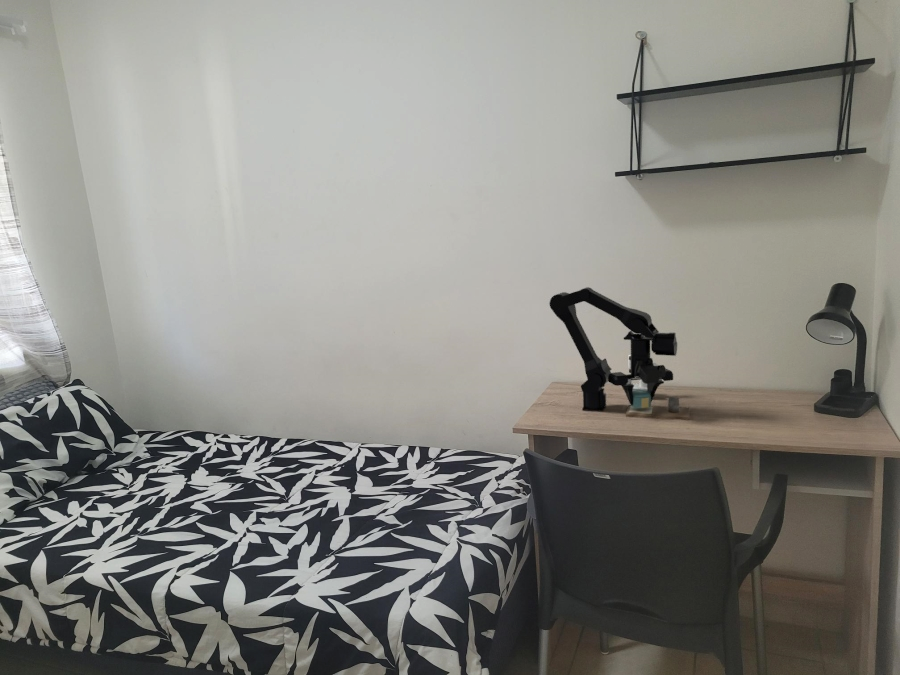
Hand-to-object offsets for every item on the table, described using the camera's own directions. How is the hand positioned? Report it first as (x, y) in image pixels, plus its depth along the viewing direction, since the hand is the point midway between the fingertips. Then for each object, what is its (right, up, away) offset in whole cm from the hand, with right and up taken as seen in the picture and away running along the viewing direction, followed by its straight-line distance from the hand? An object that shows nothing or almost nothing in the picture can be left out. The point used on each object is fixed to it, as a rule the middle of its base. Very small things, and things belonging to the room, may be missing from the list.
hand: (640, 403), depth 190 cm
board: (+5, -3, -1) cm, 6 cm away
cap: (0, 0, 0) cm, 0 cm away
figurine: (+6, 0, +17) cm, 18 cm away
